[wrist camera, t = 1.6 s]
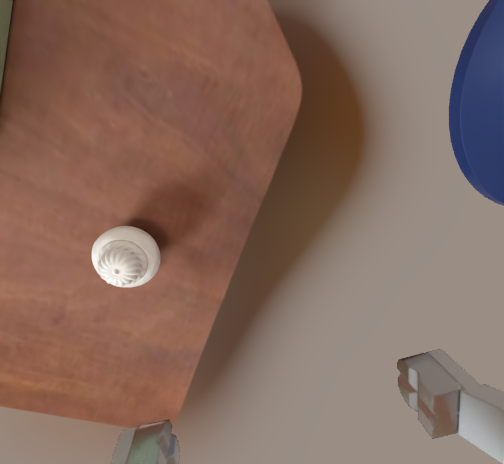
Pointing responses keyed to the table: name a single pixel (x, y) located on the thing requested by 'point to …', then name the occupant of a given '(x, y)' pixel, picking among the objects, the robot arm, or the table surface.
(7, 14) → the tray
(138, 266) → the muffin
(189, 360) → the table surface
